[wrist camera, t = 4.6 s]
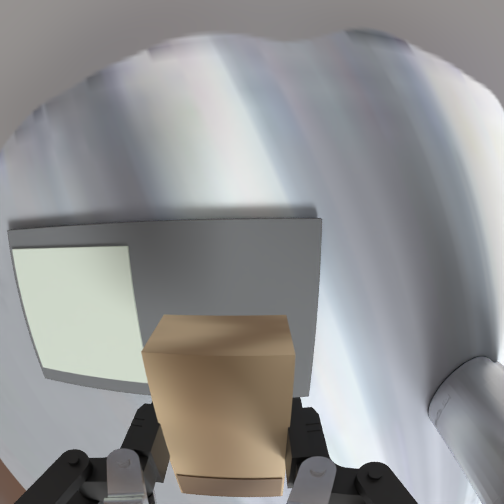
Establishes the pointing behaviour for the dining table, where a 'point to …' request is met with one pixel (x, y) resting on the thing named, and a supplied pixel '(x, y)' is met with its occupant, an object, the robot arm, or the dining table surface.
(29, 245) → the mat
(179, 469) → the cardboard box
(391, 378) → the dining table surface
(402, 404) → the dining table surface
